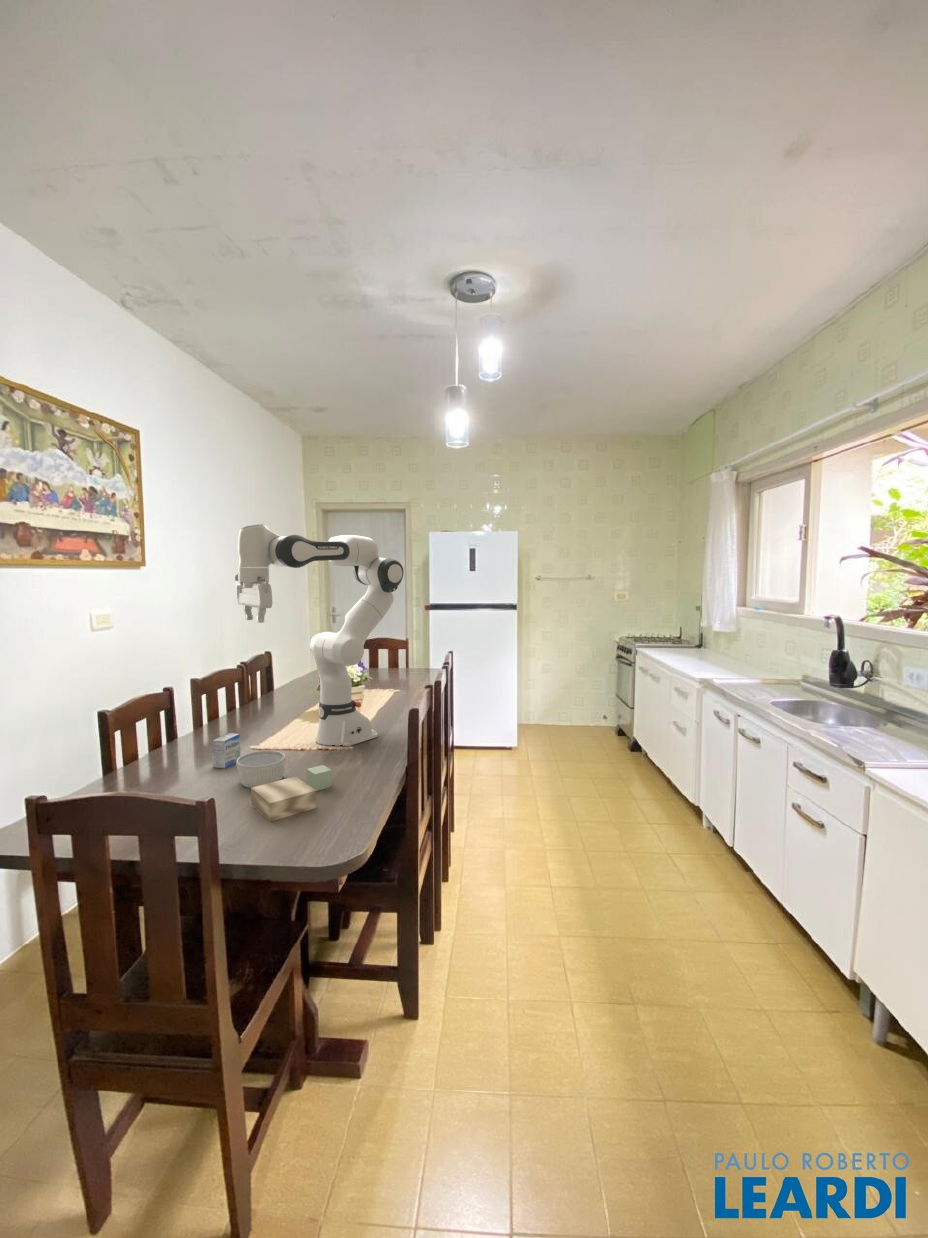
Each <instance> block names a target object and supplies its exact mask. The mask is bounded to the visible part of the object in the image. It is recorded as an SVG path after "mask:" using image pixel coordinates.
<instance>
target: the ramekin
mask: <svg viewBox="0 0 928 1238" xmlns="http://www.w3.org/2000/svg"><path fill="white" fill-rule="evenodd" d="M285 762H286V754H285V753H283V752H281V751H278V750H271V749H268V750H267V749H266V750H255V751H252V752H248V753H245V754H243V755H240V757H239V758H238V759H237V760H236V763H235V766H236V768H237V774H238V775H237V776H238V781H239V783H240V784H241V785H242V786H243V787H245V788H248V789H251V788H252V787H256V786H260V785H264V784H268V783H272V782H276V781H279V780H282V779H283V776H284V770H285Z"/></svg>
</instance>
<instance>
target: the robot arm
mask: <svg viewBox="0 0 928 1238" xmlns="http://www.w3.org/2000/svg"><path fill="white" fill-rule="evenodd" d="M237 540H238V541H237V555H238V557H239V562H238V571H237V573H236V574H234V576H233V577H234V582H235V583H236V586H235V587H236V588H235V591H236V601H237V603H238V605H239V606H243V611H244V614H245V620H246V621H253V620H254V614H253V613H252V612H253V611H252V609H253V608H257V610H256V611H257V616H256V623H259V624H263V623H264V622H265V616H266V613H267V609H271V608H272V607H273V593H272V585H271V584H270V565H271V566H274V567H277V568H280V567H281V568H295V569H299V568H302V567H305V566H306V565H309V564H310V563H312V562H320V561H328V562H329V563H331V564H332V565H335V566H338V567H339V566H341V567H353V575H354V578H355V580H356V581H357V582H358V583H360V584H362V585H364V586H368V587H367V590H366V592H365V594H364V595H363V596H361V597H360V598H359V600H358V601H357V602H356V603H355V604H354V605H353V606H352V607H351V609H349V610H348V611H347V613H346V614H345V616H344V623H343V626H342V627H341V628H340V630H339V631H337V632H333V631H323V632H318V633H317V634H315V635H313V637H312V638H311V640H310V643H309V650H310V652H311V654H312V656H313V658H314V660H315V664H316V668H317V673H318V678H319V688H320V689H319V693H320V694H319V697H320V698H319V702H318V717H319V718H318V719H319V722H318V727H317V728H318V729H317V734H316V737H315V742H316V743H318V744H319V745H322V746H323V745H324V746H332V745H335V746H340V745H343V746H342V747H351V746H354V745H356V744H360V743H363V742H366V741H368V740H369V741H370V740H372V739H375V738H377V737H378V735H379V734H378V732H377V731H376V730H374V729H372V723H371V721H370V719H369V718H368V717H367V716H365V715H364V714H362V713H361V712H360V711H358V710H357V708H361V707H362V703H361V702H360V701H358V700H357V701H354V700H353V699H352V697H353V696H352V695H353V694H352V693H353V691H352V690H353V689H352V687H353V685H352V683H353V681H352V678H351V676H350V674H349V673H348V670H347V667H350V666H355V665H357V664H359V663H360V662H361V660H362V659H363V657H364V655H365V654H364V653H365V648H364V645H365V643H366V641H367V639H368V637H369V635H370V634H371V633H372V632H373V630H374V629H375V628H376V627H377V625H378V624H379V623H380V622H381V621H382V620H383V618H384V617H385V615H387V613H388V612H389V610H390V608H391V607H392V606H393V603H394V600H395V599H394V595H393V592H395V591H396V590H397V589H398V587H399V585H400V584H401V582H402V580H403V577H404V567H403V565H402V563H401V562H400V561H397V560H396V559H394V558H390V557H389V558H387V557H381V556H379V547H378V544H377V542H376V541H375V540H374V539H372V538H371V537H368V536H361V535H355V534H343V535H337V536H332V537H330V538H329V539H328V540H323V541H321V540H320V541H319V540H310V539H308V538H307V537H305V536H302V535H300V534H299V535H298V534H290V535H287V536H282V535H279V534H277V533H276V532H274V531H272V530H271V529H269V528H268V527H267V525H265V524H262V523H261V524H259V523H258V524H251V525H250V524H249V525H244V526H242V527H241V528H240V530H239V532H238V539H237Z"/></svg>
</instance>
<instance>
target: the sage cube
mask: <svg viewBox="0 0 928 1238" xmlns="http://www.w3.org/2000/svg"><path fill="white" fill-rule="evenodd" d="M306 784H307V785H309V786H310V787H312V788H313V789H315V790H316V792H318V791H321V790H325V789H329V788H331V787H332V769H331V768H329V767H327V766H325V765H324V764H320V765H316V766H313V767H309V768H306Z"/></svg>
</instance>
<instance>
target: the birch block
mask: <svg viewBox="0 0 928 1238" xmlns="http://www.w3.org/2000/svg"><path fill="white" fill-rule="evenodd" d="M250 790H251V791H250V794H251V799H250V801H251V802H250V803H251V804H250V805H251V806H252V807H253V808H254V809H255V810H256V811H257V812H258V813H259V814H260V815H262V816H263V817H264V818H265V819H266V820H267V821H268V822H270V823H271V822H274V821H277V820H281V819H284V818H287V817H291V816H294V815H297V814H301V813H304V812H306V811H310V810H314V809H316V808H317V791H316V790H315V789H313V788H312V787H310V786H309V785H307V782H304V781H303V780H301V778H300V777H299V778H298V777H297V776H292V777H287V778H284V779H283V778H282V779H280V780H279V781H276V782H272V783H268V784H264V785H260V786H256V787H252V788H250Z"/></svg>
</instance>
